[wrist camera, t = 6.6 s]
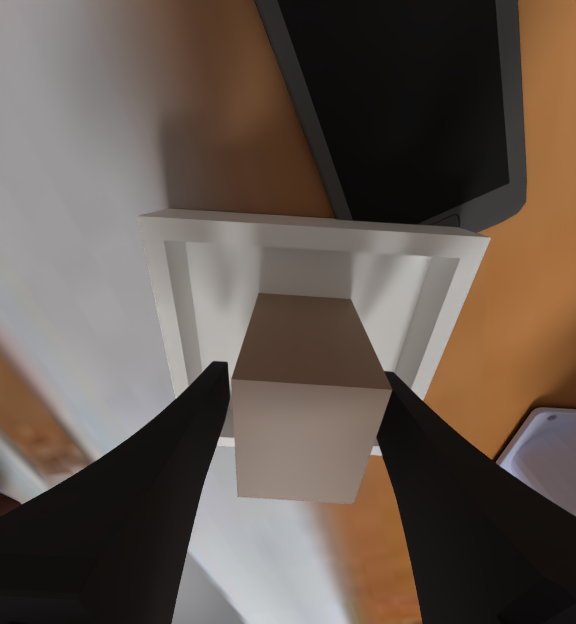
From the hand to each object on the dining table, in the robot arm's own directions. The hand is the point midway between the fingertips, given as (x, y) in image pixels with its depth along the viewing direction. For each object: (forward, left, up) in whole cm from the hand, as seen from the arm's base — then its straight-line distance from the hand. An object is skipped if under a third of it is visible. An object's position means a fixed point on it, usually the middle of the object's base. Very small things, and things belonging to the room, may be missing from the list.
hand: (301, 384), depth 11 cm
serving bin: (0, 0, -4) cm, 4 cm away
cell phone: (-2, -11, -4) cm, 12 cm away
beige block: (0, 0, -3) cm, 3 cm away
